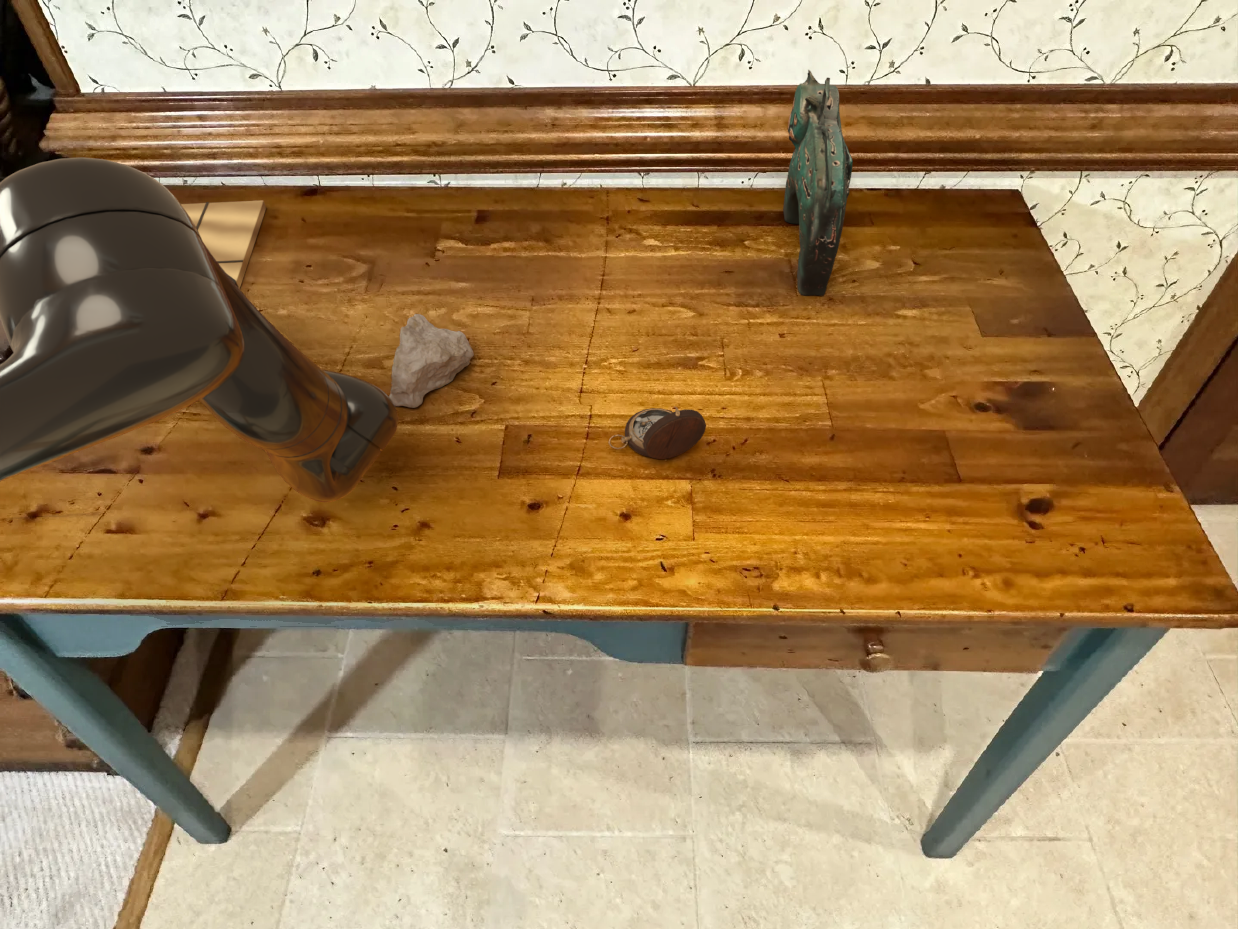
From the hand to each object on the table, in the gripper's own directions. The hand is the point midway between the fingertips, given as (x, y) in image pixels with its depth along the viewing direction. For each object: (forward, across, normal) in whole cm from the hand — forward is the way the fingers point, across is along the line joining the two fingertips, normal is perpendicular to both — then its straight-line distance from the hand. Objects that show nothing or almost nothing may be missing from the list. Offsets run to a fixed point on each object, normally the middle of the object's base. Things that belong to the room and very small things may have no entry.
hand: (118, 284), depth 85 cm
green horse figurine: (-43, -61, +11) cm, 75 cm away
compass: (-48, -23, +11) cm, 54 cm away
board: (+10, -8, +11) cm, 16 cm away
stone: (-24, -16, +11) cm, 31 cm away
